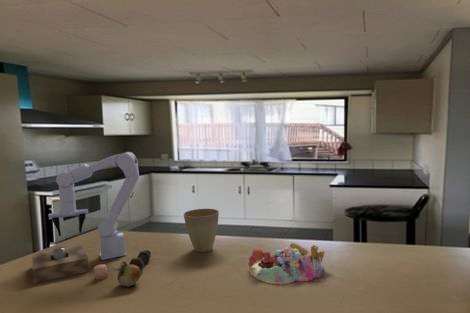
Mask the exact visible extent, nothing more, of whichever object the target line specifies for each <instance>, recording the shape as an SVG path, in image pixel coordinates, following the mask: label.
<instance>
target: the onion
mask: <svg viewBox="0 0 470 313" xmlns="http://www.w3.org/2000/svg"><path fill="white" fill-rule="evenodd" d="M112 270H113V271H115V272H117V278H116V279H117V281H118V283H119V284H120V285H121V286H122V287H129V288H130V287H131V286H133V285H135V284H137V283H138V282H139V281H140V280H139V279H140V277H141V276H142V271H140V269H139V267H137V266H136V265H129V263H128V262H127V261H122V262H121V263H119V266H118V267H117V266H112Z"/></svg>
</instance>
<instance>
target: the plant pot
mask: <svg viewBox="0 0 470 313" xmlns="http://www.w3.org/2000/svg"><path fill="white" fill-rule="evenodd" d="M219 212H220V211H219V210H218V209H216V208H196V209H192V210H191V209H190V210H187V211H185V212H184V213H183V218H184V219H183V220H184V223H185V226H186V231H187V233H188V237H189V239H190V242H191V244H192V248H193V249H194V251H195V252H198V253H205V252H210V251H212V250H213V246H214V245H215V240H216V235H217V230H218V226H219V225H218V224H219V214H220V213H219Z"/></svg>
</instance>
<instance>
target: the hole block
mask: <svg viewBox="0 0 470 313" xmlns="http://www.w3.org/2000/svg"><path fill="white" fill-rule="evenodd" d="M65 255H66V258H61V259H55V260H54V253H53V250H51V251H50V250H49V251H44V252H39V253H33V254H32V278H33V284H37V283H42V282H46V281H50V280H55V279H60V278H64V277H68V276H73V275H77V274H83V273H88V272H90V269H89V268H90V265H89V258H88V254H87V253H86V250H85V248H84V246H83V245H78V246H71V247H65Z"/></svg>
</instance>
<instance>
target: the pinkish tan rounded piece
mask: <svg viewBox="0 0 470 313" xmlns="http://www.w3.org/2000/svg"><path fill="white" fill-rule="evenodd" d="M93 269H94V277H95V280H96V281H102V280H105V279H107V278H108V270H107V269H108V268H107V265H106V264H104V263H103V264H96V266H94V268H93Z"/></svg>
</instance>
